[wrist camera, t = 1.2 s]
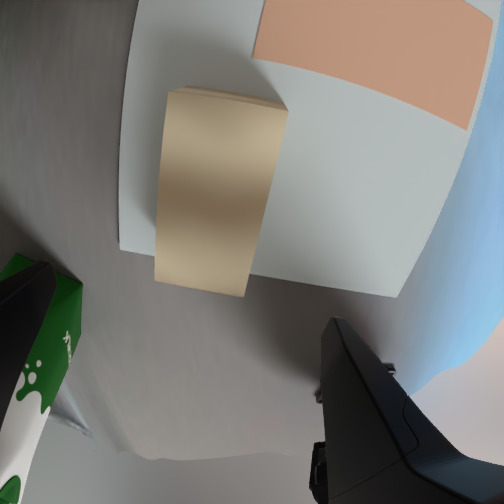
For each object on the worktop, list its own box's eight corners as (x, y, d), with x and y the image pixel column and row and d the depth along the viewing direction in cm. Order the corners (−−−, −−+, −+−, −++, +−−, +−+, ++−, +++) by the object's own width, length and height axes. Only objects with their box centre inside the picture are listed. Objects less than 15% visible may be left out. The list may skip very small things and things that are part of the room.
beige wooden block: (246, 260, 20) (243, 297, 17) (169, 246, 20) (154, 280, 17) (283, 102, 15) (288, 111, 12) (187, 85, 14) (168, 91, 11)
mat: (394, 294, 22) (396, 298, 22) (122, 246, 20) (119, 250, 20) (498, -10, 9) (502, -10, 9) (176, -109, 7) (174, -113, 7)
